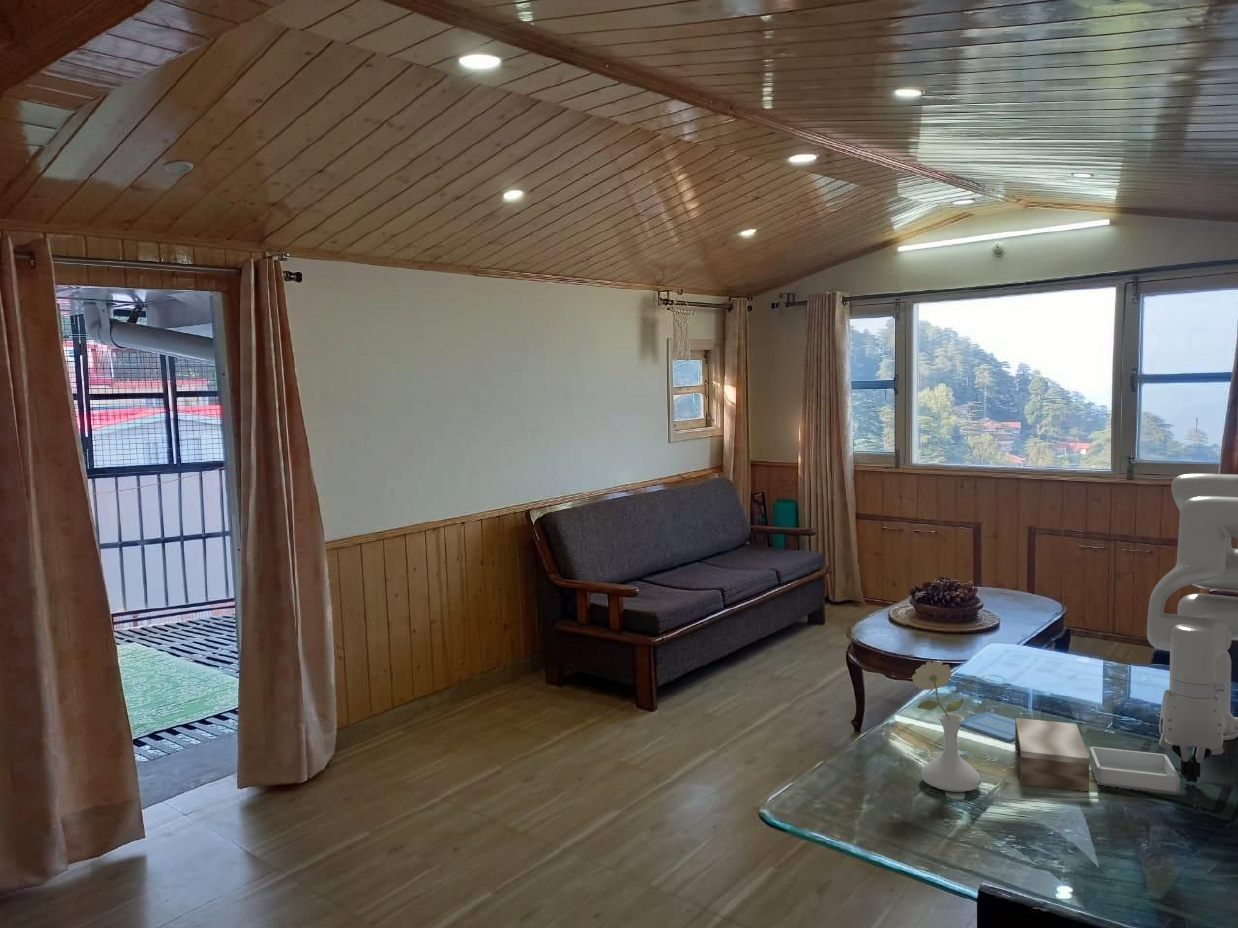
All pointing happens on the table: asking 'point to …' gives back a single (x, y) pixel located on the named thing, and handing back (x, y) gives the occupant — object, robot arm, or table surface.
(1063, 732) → the tan slab
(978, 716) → the blue flat rectangular slab
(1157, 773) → the white open tray
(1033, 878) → the table surface
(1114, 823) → the table surface
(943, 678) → the flower in vase
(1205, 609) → the robot arm
